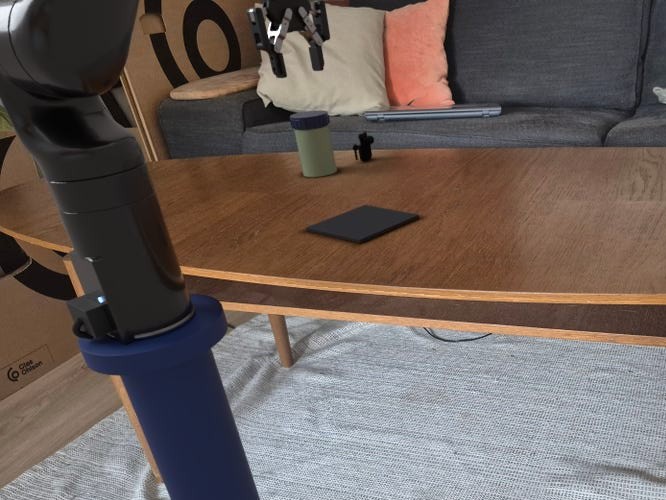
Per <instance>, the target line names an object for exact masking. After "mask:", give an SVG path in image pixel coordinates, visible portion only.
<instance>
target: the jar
mask: <svg viewBox="0 0 666 500" xmlns="http://www.w3.org/2000/svg"><path fill="white" fill-rule="evenodd" d="M293 132H294V137H295V141H296V147H297V151H298V155H299V160H300V166H301V170H302V173H303V176H304V177H305V178H320V177H326V176H330V175H333V174H335V173H337V171H338V167H337V162H336V157H335V151H334V147H333V141H332V135H331V129H330V125H329V124H328V125H326V126H322V127H318V128H312V129H293Z"/></svg>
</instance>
